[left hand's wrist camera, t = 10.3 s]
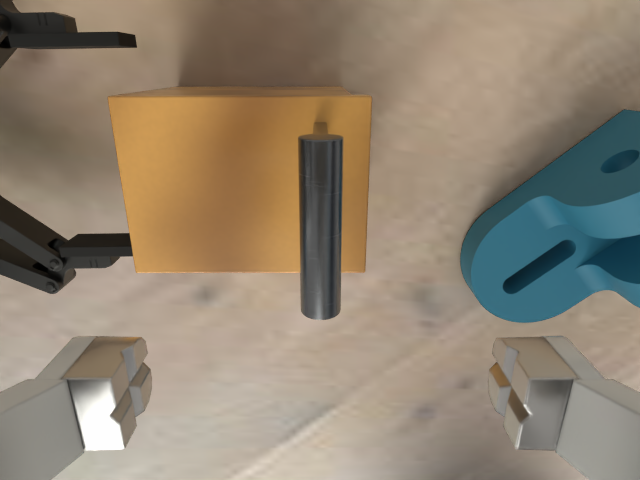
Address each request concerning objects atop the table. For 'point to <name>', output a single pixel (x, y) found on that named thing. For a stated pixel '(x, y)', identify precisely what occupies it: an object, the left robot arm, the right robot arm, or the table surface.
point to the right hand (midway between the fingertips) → (145, 150)
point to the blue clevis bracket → (563, 231)
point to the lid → (247, 186)
